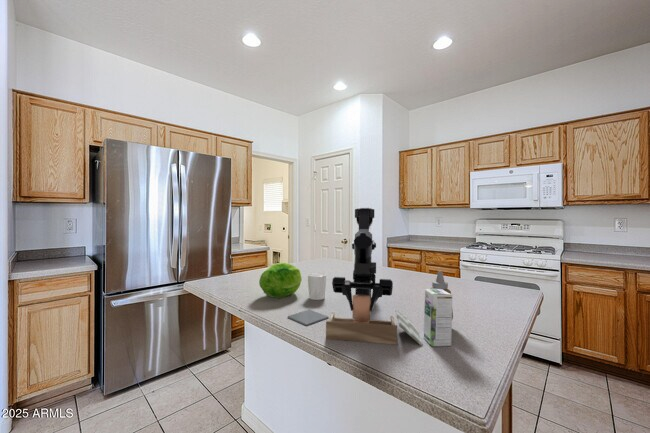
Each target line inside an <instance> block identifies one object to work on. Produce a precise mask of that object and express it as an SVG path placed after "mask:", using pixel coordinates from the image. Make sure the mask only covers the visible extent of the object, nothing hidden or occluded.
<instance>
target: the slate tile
mask: <svg viewBox="0 0 650 433" xmlns="http://www.w3.org/2000/svg"><path fill="white" fill-rule="evenodd" d="M287 318H288V319H290V320H292V321H295V322H297V323H300V324H302V325H304V326H306V327H308V326H311V325H314V324H316V323H319V322H321V321H325V320H328V319H330V317H329V316H328V315H325V314H322V313H319V311H314V310H312V309H305V310H302V311H299V312H296V313H294V314H290V315H287Z"/></svg>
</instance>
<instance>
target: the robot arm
mask: <svg viewBox="0 0 650 433" xmlns="http://www.w3.org/2000/svg"><path fill="white" fill-rule="evenodd" d="M354 218H355V219H356V224H357V225H358V231H357V232H355V234H354V239H352V242H351V248H352V250H354V265H353V272H352V280H353V281H352V280H349V279H348V280H346V277H345V276H334V277H333V278H332V281H331V284H332V289H333V292H334V293H335V294H336V293H337V294H338V293H339V294H342V296H345V297H346V299H347V301H348V304H349V308H350V311H351V312H353V295H352V294H353V293H352V289H355V291H354V292H355V294H354V295H356V294H365V295H369V296H370V297H371V306H370V313H372V312H373V309H374V308H375V305H376V302H378V299H380V298H382V297H383V296H389V297H390V296H392V295H393V288H394V287H393V284H394V283H393V280H392V279H390V278H389V279H388V278H379V282H376V274H377V262H375V261H374V262H372V254H373V251H375V249H376V248H377V243H376V242H375V240H374V239H373V233H371V231H370V228H371V226H372V224H373V219H375V209H374V208H372V207H369V206H368V207H366V206H365V207H362V206H360V207H357V208H355V209H354Z"/></svg>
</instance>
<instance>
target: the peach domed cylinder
mask: <svg viewBox="0 0 650 433" xmlns="http://www.w3.org/2000/svg"><path fill="white" fill-rule="evenodd" d="M371 297H372V296H371ZM371 297H370V296H369V295H365V294H356V295H355V294H353V295H352V304H353V310H352V318H353V319H354V322H356V323H369V320H371V312H370V306H371Z"/></svg>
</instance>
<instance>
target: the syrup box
mask: <svg viewBox="0 0 650 433" xmlns="http://www.w3.org/2000/svg"><path fill="white" fill-rule="evenodd" d="M452 309H453V294H452V293H451V294H450V293H448V292H446V291H444V290H443V289H430V288H426V289H425V290H424V311H423V312H424V315H423V339H424V340H425V341H426V342H427V343H428V344H429V345H430V346H431V347H450V346H452V326H453V324H452V323H453V319H452Z"/></svg>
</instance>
